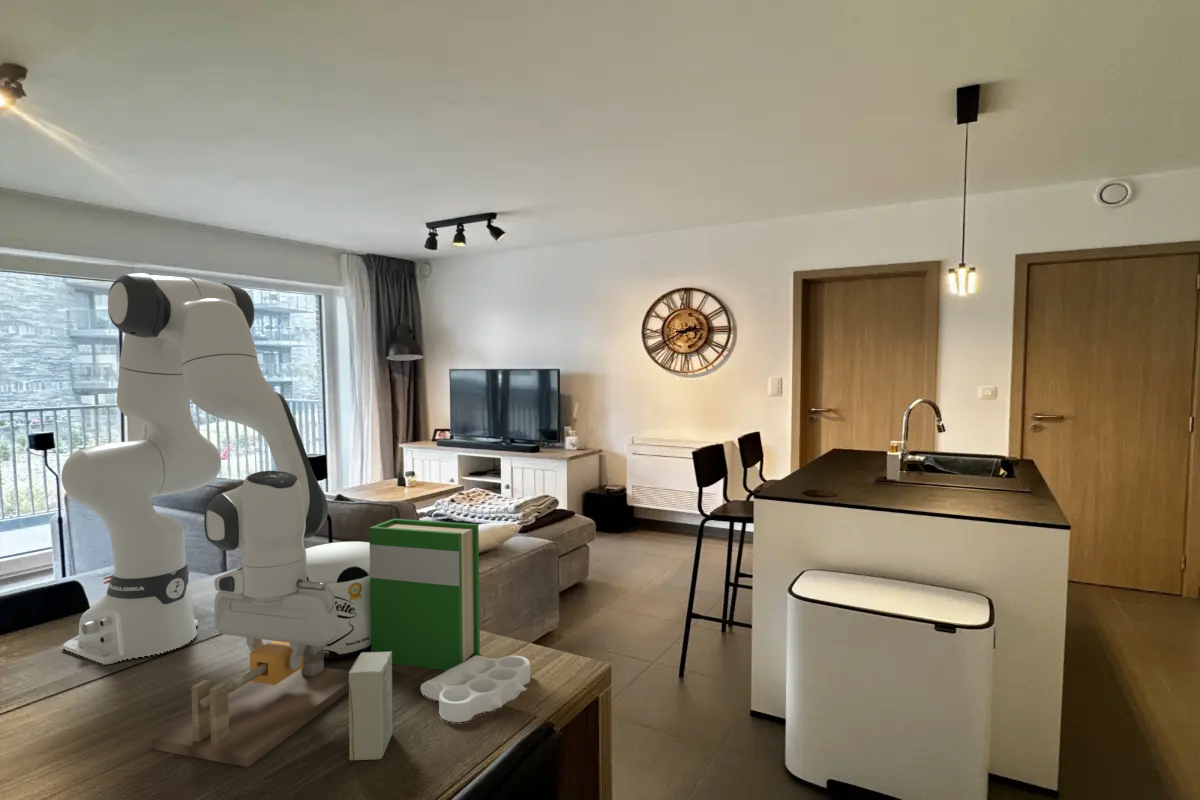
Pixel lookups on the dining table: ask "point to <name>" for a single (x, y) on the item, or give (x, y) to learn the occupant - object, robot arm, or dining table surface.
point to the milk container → (345, 592)
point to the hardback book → (425, 592)
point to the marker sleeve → (272, 662)
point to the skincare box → (370, 705)
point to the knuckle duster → (478, 686)
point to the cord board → (253, 712)
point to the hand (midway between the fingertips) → (277, 665)
